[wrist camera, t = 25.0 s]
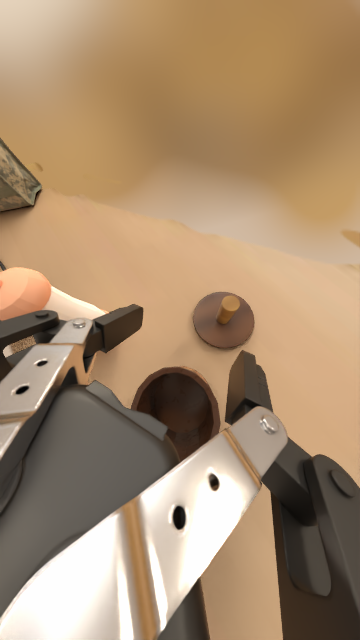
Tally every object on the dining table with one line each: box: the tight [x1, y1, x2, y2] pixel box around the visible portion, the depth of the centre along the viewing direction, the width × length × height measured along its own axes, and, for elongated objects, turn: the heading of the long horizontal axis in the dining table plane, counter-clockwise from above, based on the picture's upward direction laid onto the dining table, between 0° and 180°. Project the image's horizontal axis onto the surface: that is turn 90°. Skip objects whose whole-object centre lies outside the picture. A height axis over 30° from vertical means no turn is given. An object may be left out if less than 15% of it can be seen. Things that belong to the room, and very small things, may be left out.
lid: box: [193, 292, 254, 348], centre depth 25 cm, size 12×12×8 cm
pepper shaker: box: [0, 267, 108, 321], centre depth 23 cm, size 7×7×19 cm
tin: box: [131, 366, 220, 462], centre depth 21 cm, size 12×12×8 cm
